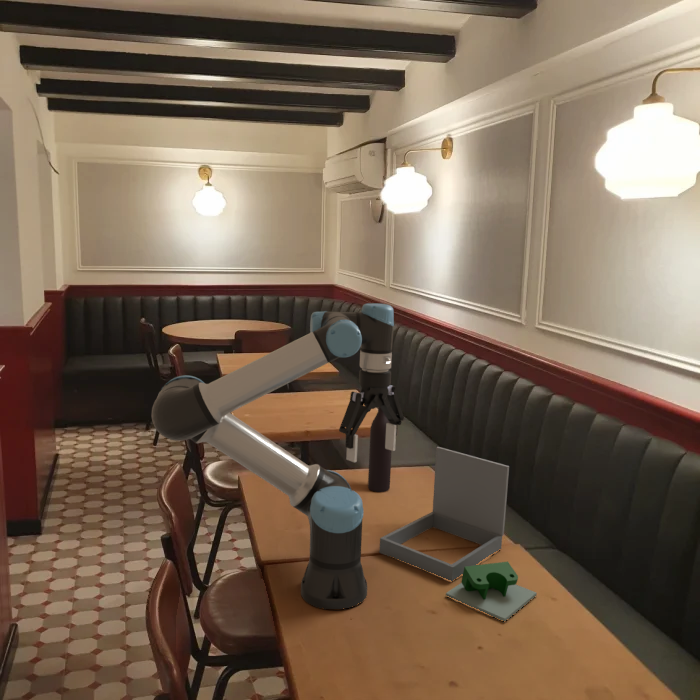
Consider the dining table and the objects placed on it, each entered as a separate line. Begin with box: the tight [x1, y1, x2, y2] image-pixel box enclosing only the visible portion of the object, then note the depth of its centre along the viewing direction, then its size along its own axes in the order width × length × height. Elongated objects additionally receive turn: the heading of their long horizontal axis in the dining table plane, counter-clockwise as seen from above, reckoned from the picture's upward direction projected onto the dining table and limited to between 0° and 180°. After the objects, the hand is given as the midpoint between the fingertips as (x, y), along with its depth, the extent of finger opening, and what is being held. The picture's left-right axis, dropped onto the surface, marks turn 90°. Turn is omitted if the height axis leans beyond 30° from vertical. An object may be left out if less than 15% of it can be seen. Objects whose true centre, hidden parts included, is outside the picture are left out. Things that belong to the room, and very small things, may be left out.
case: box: [378, 446, 510, 581], centre depth 178 cm, size 25×22×23 cm
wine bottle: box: [367, 407, 393, 493], centre depth 219 cm, size 7×7×30 cm
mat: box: [445, 582, 537, 621], centre depth 158 cm, size 15×15×1 cm
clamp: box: [460, 561, 519, 600], centre depth 157 cm, size 12×6×9 cm, turn 101°
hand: (371, 455), depth 167 cm, fingers open, 13 cm apart
